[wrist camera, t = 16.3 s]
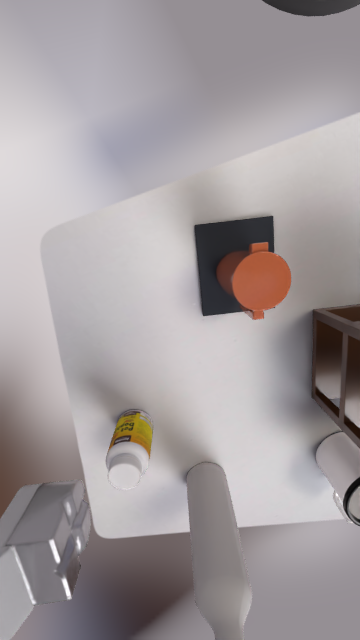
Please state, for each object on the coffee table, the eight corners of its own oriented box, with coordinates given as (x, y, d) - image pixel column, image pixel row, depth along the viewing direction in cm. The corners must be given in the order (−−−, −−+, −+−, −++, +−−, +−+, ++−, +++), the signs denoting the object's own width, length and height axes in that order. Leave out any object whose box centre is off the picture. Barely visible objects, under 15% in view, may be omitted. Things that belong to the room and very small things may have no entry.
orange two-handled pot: (214, 246, 35) (230, 246, 26) (258, 241, 35) (291, 239, 26) (218, 305, 37) (234, 326, 28) (260, 301, 37) (291, 320, 28)
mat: (194, 225, 35) (195, 225, 34) (272, 216, 35) (273, 215, 34) (203, 315, 38) (203, 316, 38) (274, 307, 38) (275, 307, 38)
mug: (321, 423, 43) (359, 468, 34) (377, 431, 44) (428, 477, 35) (300, 484, 46) (330, 539, 37) (352, 490, 47) (393, 546, 38)
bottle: (206, 500, 47) (254, 853, 19) (178, 480, 45) (187, 826, 18) (234, 477, 45) (325, 816, 18) (205, 455, 44) (259, 785, 17)
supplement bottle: (138, 401, 41) (128, 449, 31) (160, 426, 42) (157, 481, 33) (110, 420, 42) (90, 473, 32) (132, 444, 43) (120, 503, 33)
